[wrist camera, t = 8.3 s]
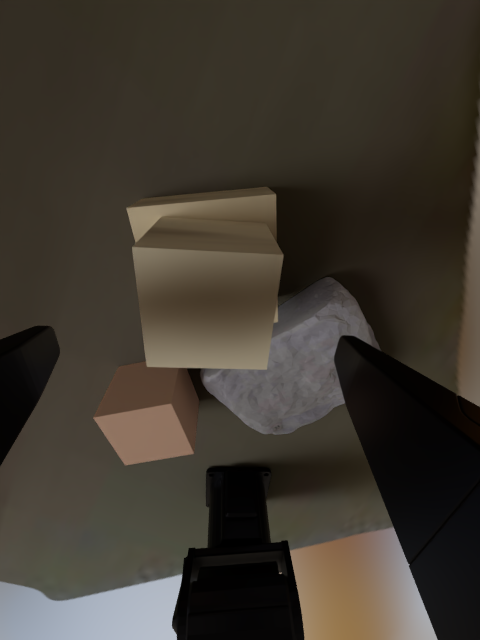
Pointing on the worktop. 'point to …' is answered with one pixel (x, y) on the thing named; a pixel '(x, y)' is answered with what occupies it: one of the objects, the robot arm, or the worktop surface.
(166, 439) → the terracotta block
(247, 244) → the beech block
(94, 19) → the worktop surface
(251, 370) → the stone block
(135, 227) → the oak base block
